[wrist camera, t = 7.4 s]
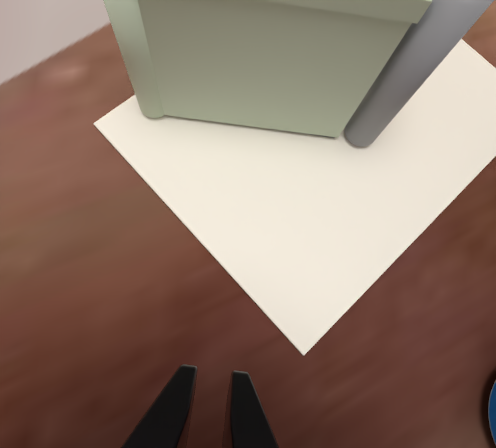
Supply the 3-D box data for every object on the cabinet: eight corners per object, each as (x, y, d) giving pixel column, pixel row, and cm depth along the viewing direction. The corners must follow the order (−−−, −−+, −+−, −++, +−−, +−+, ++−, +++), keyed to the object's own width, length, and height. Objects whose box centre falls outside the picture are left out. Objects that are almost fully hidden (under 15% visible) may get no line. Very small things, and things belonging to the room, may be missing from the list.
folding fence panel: (376, 119, 24) (495, -34, 14) (376, 148, 23) (499, 11, 13) (142, 88, 23) (86, -100, 13) (136, 117, 22) (73, -55, 12)
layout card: (537, 110, 26) (542, 107, 25) (302, 355, 20) (304, 355, 20) (350, -53, 28) (352, -57, 28) (94, 126, 23) (93, 122, 22)
